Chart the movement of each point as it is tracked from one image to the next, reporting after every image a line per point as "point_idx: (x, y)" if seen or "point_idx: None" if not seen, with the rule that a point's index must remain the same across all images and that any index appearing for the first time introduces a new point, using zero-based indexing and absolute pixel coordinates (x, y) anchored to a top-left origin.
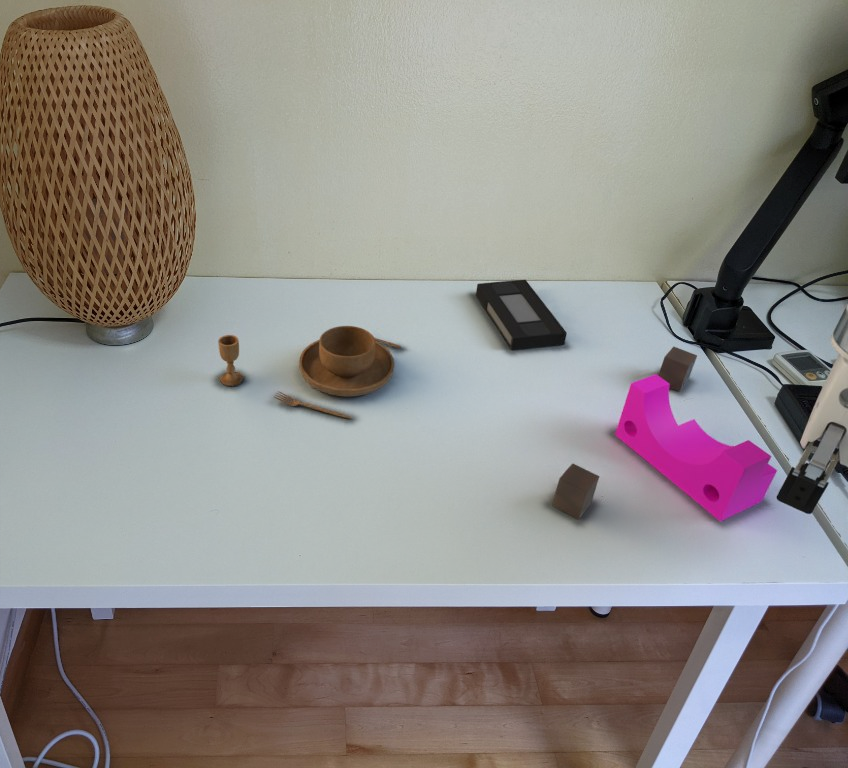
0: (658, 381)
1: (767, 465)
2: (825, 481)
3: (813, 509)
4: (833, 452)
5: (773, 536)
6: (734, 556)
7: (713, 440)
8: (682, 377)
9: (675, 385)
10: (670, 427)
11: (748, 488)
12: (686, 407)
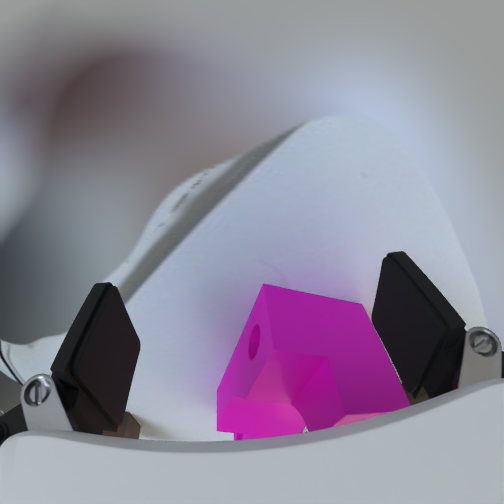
0: None
1: (273, 365)
2: (501, 350)
3: (410, 259)
4: (110, 309)
5: (345, 234)
6: (421, 260)
7: (231, 403)
8: (125, 432)
9: (130, 421)
10: (266, 436)
11: (348, 345)
12: (145, 403)
